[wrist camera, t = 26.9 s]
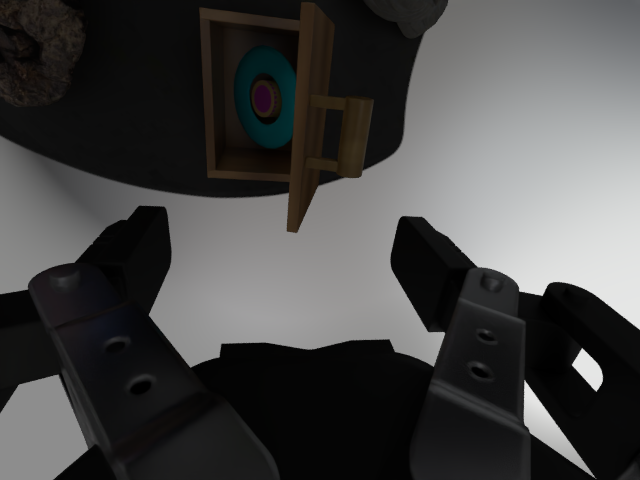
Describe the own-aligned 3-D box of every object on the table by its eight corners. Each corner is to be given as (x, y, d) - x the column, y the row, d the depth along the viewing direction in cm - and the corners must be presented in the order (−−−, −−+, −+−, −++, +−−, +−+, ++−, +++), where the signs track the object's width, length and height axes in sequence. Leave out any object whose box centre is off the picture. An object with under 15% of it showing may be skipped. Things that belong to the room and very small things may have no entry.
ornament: (303, 163, 41) (341, 85, 35) (276, 168, 38) (313, 83, 32) (251, 110, 45) (277, 30, 38) (222, 111, 41) (245, 23, 35)
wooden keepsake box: (220, 150, 43) (207, 177, 34) (215, 18, 37) (198, 7, 28) (303, 156, 45) (314, 183, 36) (313, 31, 39) (329, 24, 29)
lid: (286, 231, 25) (351, 241, 25) (300, 1, 19) (388, 10, 19) (310, 184, 35) (357, 190, 35) (325, 23, 29) (382, 29, 29)
